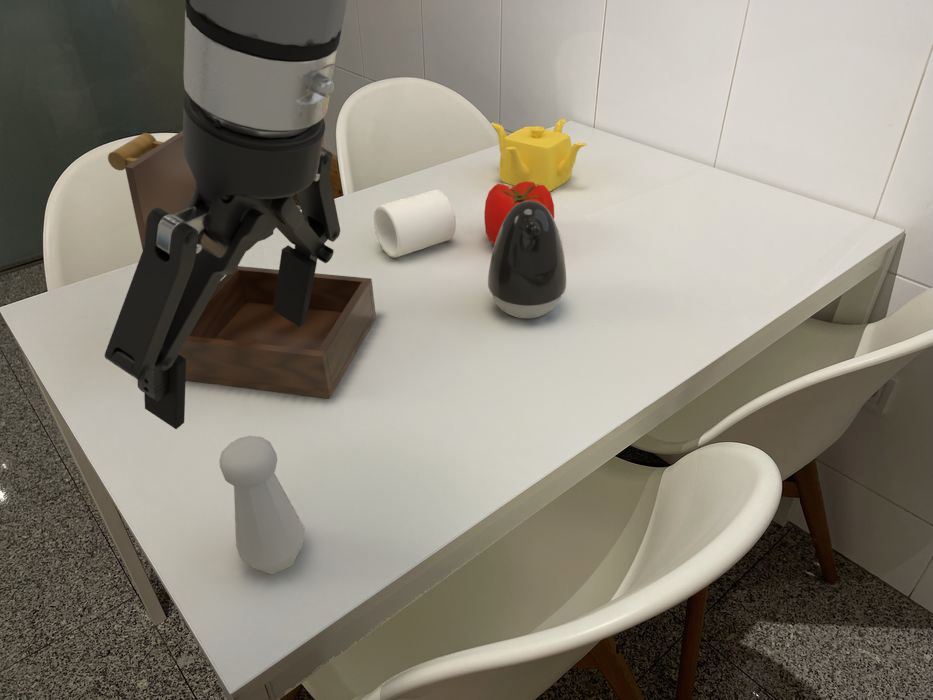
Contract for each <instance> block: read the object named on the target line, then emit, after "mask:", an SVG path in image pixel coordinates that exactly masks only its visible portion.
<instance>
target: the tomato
mask: <svg viewBox="0 0 933 700" xmlns="http://www.w3.org/2000/svg"><path fill="white" fill-rule="evenodd" d="M536 185H537V186H536ZM536 185H535V183H534V182H528V181H525V182H521V183H518V184H517V185H515V186H512V187H509V185H506V184H502V183H497V184H495V185H493V187H492V188H491V189H490V190H489V191H488V193H487V196H486V199H485V202H484V203H485V204H484V216H483V217H484V229H485V234H486V237H487V239H488V241H489V242H491V243H492V244H493V246H494V245H495V242H496V239H497V236H498V233H499V230H500V228H501V225H502V223H503V221H504V219H505V217H506V216H507V214H508V213H509V211H510V210H511V209H512V208H513V207H514V206H515V205H516V204H518V203H520V202H523V201H536V202H539V203H541V204H543V205H544V206H545V207H546V208H547V209H548V210H549V212H550V214H551V215H552V217H553V219H554V220H555V203H554V200H553V197H552V193H551V191H550V192H549V191H548V189H547V188H546V187H545V186H544V185H538V184H536Z"/></svg>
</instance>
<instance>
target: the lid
mask: <svg viewBox="0 0 933 700" xmlns="http://www.w3.org/2000/svg"><path fill="white" fill-rule="evenodd" d="M107 160H108V163H109V164H110V166H111V167H112V168H113V169H115V170H117V171H124V170H125V175H126V177H127V178H126V179H127V183H128V188H129V193H130V197H131V203H132V207H133V212H134V215H135V220H136V225H137V230H138V235H139V240H140V244H141V248H142V250H143V249H144V246H145V233H146V221H147V217H148V215H149V213H150V212H151V211H152V210H153V209H155V208H158V207H160V208H162V209H164V210H165V211H167V212H169V213H170V214H175V213H178V212H180V211H183V210H185V209H188V207H189V203H190V200H191V198H192V195H193V193H194V189H195V180H194V177H193V175H192V173H191V170H190V168H189V166H188V164H187V162H186V159H185V157H184V153H183V130H181V131H179V132H178V133H176V134H175V135H173V136H171V137H170V138H168V139H167V140H165V141H159V140H157V139H156V138H155V136H154V135H152V134H151V133H148V132H143V133H142V134H139V135H138V136H136V137H135V138H133V139H131V140H130V141H128V142H126V143H125V144H123V145H121V146H120V147H118V148H116V149H115V150H112V151H111V152H109V154H108V156H107ZM201 244H202V245H203V246H204V247H205V248H207V249H209V250H210V251H212V252H214V253H215V254H217V255H219V256H220V257H222V256H223V255H224V253H225V251H226V250H225V249H223V248H222V247H220V246H218V245H217V244H215V243H213V242H212V241H211V240H210V239H209V238H208V237H207V236H206V235H205V234H204V235H203V237H202V239H201ZM225 276H226V275H224V276H223V277H222V279H223V278H224V277H225Z"/></svg>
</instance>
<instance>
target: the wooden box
mask: <svg viewBox="0 0 933 700" xmlns="http://www.w3.org/2000/svg"><path fill="white" fill-rule="evenodd" d="M278 273H279V269H274V268H265V267H264V268H263V267H253V266H252V267H251V266H244V265H243V266H241V265H238V266H237V268H236V270H235V271H234V273H232V274H230V275H225V276H224V277H223V278H222V279H221V281H220V282H219V284H218V286H217V288H216V289H215V291H214V293H213V295H212V296H211V298H210V300H209V302H208V304H207V305H206V307H205V309H204V311H203V312H202V314H201V316H200V318H199V319H198V321H197V323H196V325H195V327H194V328H193V330H192V332H191V334H190V335H189V337H188V339H187V341H186V342H185V344H184V346H183V348H182V349H181V351H180V353H179V355H180V356H182V357H183V358H185V359H186V381H187V382H195V383H203V384H210V385H218V386H226V387H232V388H233V387H235V388H240V389H241V388H242V389H250V390H258V391H266V392H273V393H281V394H288V395H296V396H304V397H305V396H306V397H313V398H319V399H320V398H321V399H327V400H329V399H331V397H332V396H333V394H334V392H335V391H336V389H337V387H338V385H339V383H340V382H341V380H342V378H343V377H344V375H345V373H346V372H347V370H348V368H349V366H350V365H351V363H352V361H353V358H354V357H355V355H356V354H357V352H358V350H359V348H360V347H361V345H362V343H363V341H364V339H365V338H366V336H367V335H368V333H369V332H370V329H371V327H372V325H373V324H374V322H375V320H376V318H377V313H376V305H375V297H374V289H373V280H372V278H369V277H359V276H349V275H338V274H326V273H319V272H318V273H317V272H315V275H314V280H313V285H312V291H311V296H310V301H309V306H308V311H307V317H306V322H305V323H304V324H303V325H302V326H301V327H299V326H297V325H296V324H294V323H292V322H291V321H289V320H287V319H286V318H284V317H283V316H281V315H279V314H278V313H276V312H275V311H273V307H274V301H275V294H276V287H277V280H278ZM186 381H185V382H186Z"/></svg>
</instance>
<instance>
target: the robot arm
mask: <svg viewBox="0 0 933 700" xmlns="http://www.w3.org/2000/svg"><path fill="white" fill-rule="evenodd" d="M347 2H348V0H185V9H184V38H183V39H184V41H183V42H184V43H183V69H182V70H183V75H182V76H183V77H182V78H183V79H182V80H183V87H184V91H185V92H186V94H185V96H184V98H183V116H182V117H183V119H182V131H183V153H184V157H185V159H186V162H187V164H188V166H189V168H190V170H191V173H192V175H193V177H194V180H195V189H194V193H193V195H192V198H191V200H190V203H189V207H188V209H185V210H183V211H180V212H178V213H175V214H170V213H169V212H167V211H165V210H164V209H162V208H160V207H158V208H155V209H153V210H152V211H151V212H150V213H149V215H148V217H147V221H146V233H145V246H144V249H142V252H141V254H140V258H139V260H138V262H137V265H136V268H135V271H134V273H133V276H132V279H131V282H130V284H129V286H128V290H127V293H126V295H125V298H124V301H123V304H122V306H121V309H120V312H119V314H118V317H117V320H116V322H115V325H114V327H113V330H112V333H111V335H110V339H109V341H108V344H107V346H106V350H105V352H104V358H105V359H106V360H107V361H108V362H110V363H112V364H113V365H115V366H116V367H118V368H119V369H120V370H122V371H124V372H125V373H127V374H128V375H130V376H131V377H133V378H135V379H136V380H137V388H138V389H139V391H141V392H142V393H143V394H144V395H143V396H144V409H145V410H146V411H147V412H149V413H151V414H152V415H154V416H155V417H157V418H158V419H160V420H161V421H162V422H164V423H165V424H167V425H168V426H170V427H171V428H173V429H174V430H178V429H179V428H180V427H181V426H182V425H184V424H185V413H186V412H185V411H186V407H185V406H186V359H185V358H183V357H182V356H180V355H179V353H180V351H181V349H182V348H183V346H184V344H185V342H186V341H187V339H188V337H189V335H190V334H191V332H192V330H193V328H194V327H195V325H196V323H197V321H198V319H199V318H200V316H201V314H202V312H203V311H204V309H205V307H206V305H207V304H208V302H209V300H210V298H211V296H212V295H213V293H214V291H215V289H216V288H217V286H218V284H219V282H220V281H221V280H222V279H223V278H224V277H225V276H226V275H230V274H232V273H234V271H235V270H236V268H237V266H240V263H241V261H242V260H243V257H244V256H245V254H246V252H247V251H250V250H251V249H252V248H253V247H254V246H255V245H256V244H257V243H258V242H261V241H265V240H266V239H269V238H270V237H271V236H273V235H274V232H275V230H276V229H277V230H278V231H279V232H280V233H281V234H282V235H283V236H284V237H285V238H286V239H287V240H288V241H289V242H290V243H291V244H292V245H294V247H292V246H290V245H286V246H284V247H283V248H282V249H281V252H280V260H279V266H278V267H279V268H278V270H279V273H278V280H277V287H276V294H275V301H274V307H273V311H275V312H276V313H278V314H279V315H281V316H283V317H284V318H286V319H287V320H289V321H291V322H292V323H294V324H296V325H297V326H299V327H301V326H302V325H303V324H304V323H305V322H306V317H307V311H308V306H309V301H310V296H311V291H312V285H313V280H314V275H315V273H316V269H317V264H318V260H319V261H321V262H322V263H324V264H328V263H329V262H330V261H331V260H332V258H333V256H334V253H335V251H334V249H333V248H332V247H330V246H328V245H326V243H327V241H329V242H332V243H333V242H335V241H336V240H337V239H338V238H339V237H340V233H341V226H340V220H339V216H338V210H337V205H336V201H335V196H334V190H333V186H332V181H331V180H332V179H331V177H330V176H331V169H332V161H333V153H332V152H331V151H330V150H328V149H326V148H324V147H323V143H324V137H325V132H326V122H325V119H324V118H325V116H326V115H327V113H328V109H329V102H330V97H331V95H332V94H333V93H334V89H335V83H334V80H333V77H334V72H335V67H336V60H337V52H338V47H339V45H340V40H341V35H342V30H343V24H344V19H345V14H346V8H347V4H348V3H347ZM295 195H296V196H297V200H298V204H299V206H300V207H298V206H297V202H296V201H295V200H294V199H293V198H294V197H295ZM204 234H205V235H206V236H207V237H208V238H209V239H210V240H211V241H212V242H213V243H215V244H217V245H218V246H220V247H222V248H223V249H225V250H226V251H225V253H224V255H223V256H222V257H220V256H219V255H217V254H215V253H214V252H212V251H210V250H209V249H207V248H205V247H204V246H203V245H202V244H201V239H202V237H203V235H204ZM224 275H225V276H224ZM223 276H224V277H223ZM222 277H223V278H222Z"/></svg>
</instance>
